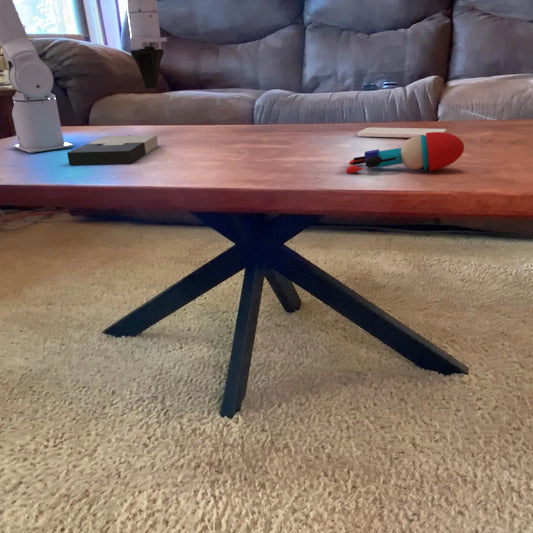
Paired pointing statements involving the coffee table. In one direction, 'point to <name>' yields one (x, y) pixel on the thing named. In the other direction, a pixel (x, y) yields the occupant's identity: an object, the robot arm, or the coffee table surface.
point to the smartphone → (397, 132)
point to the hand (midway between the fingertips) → (151, 88)
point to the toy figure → (415, 153)
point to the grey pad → (129, 141)
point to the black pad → (106, 154)
